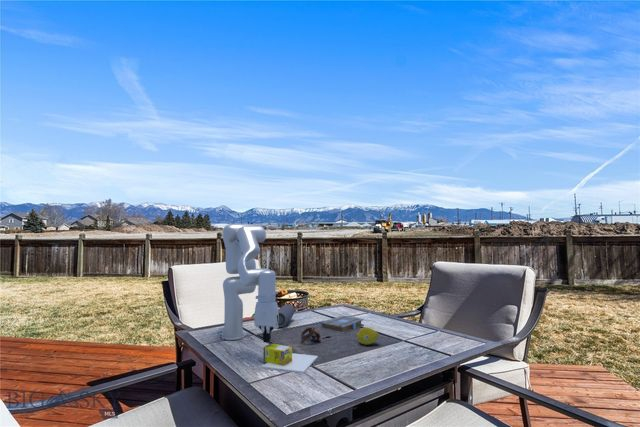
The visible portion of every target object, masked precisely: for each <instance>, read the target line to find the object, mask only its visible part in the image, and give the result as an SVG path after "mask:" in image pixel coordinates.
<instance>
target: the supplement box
mask: <svg viewBox="0 0 640 427" xmlns="http://www.w3.org/2000/svg"><path fill="white" fill-rule="evenodd" d="M262 351H263V362H264V363H267V362H270V363H275V364H279V365H284V366H285V365H286V364H288V363H289V362H291V361H292V353H293V347H292V346H288V345H283V344H277V343H269V344H268V345H266V346H264V347H263V350H262Z"/></svg>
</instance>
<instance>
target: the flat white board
mask: <svg viewBox="0 0 640 427" xmlns="http://www.w3.org/2000/svg"><path fill="white" fill-rule="evenodd" d="M318 357H319V356H318V355H313V354H304V353H303V354H301V353H293V352H292V361H291V362H289V363H288V364H286V365H285V366H284V365H279V364H275V363H270V362H265V364H263V365H262V366H261V369H266V370H267V369H268V370H274V371H275V370H276V371H284V372H293V373H299V374H300V373H301V374H304V373H305V372H306V371H307V370H308V369H309V368H310V366H311V365H312V364H313V363H314V362H315V361H316V360H317V359H318Z"/></svg>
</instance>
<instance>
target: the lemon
mask: <svg viewBox="0 0 640 427" xmlns="http://www.w3.org/2000/svg"><path fill="white" fill-rule="evenodd" d="M379 335H380V334H379V333H378V332H377V331H376V330H374V329H373V328H370V327H360V329H359V330H358V333H356V337H357V340H358V342H359V343H360V344H362V345H364V346H369V345H372V344H374V343H375V342H376V341H377V340H378V339H379Z"/></svg>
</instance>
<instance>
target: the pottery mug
mask: <svg viewBox="0 0 640 427" xmlns="http://www.w3.org/2000/svg"><path fill="white" fill-rule="evenodd" d="M300 337H301V342H302V343H303V342H305V341H308V340H310V341H312V339H315V338H316V340H317V341H318V342H319V343H320V344H321V343H322V338H321V335H320V332H319V331H318V330H317V329H316V328H315V327H314V326H312V327H311V326H309V327H306V328H305V329H304V330H303V331H302V332H301V334H300Z"/></svg>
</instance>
